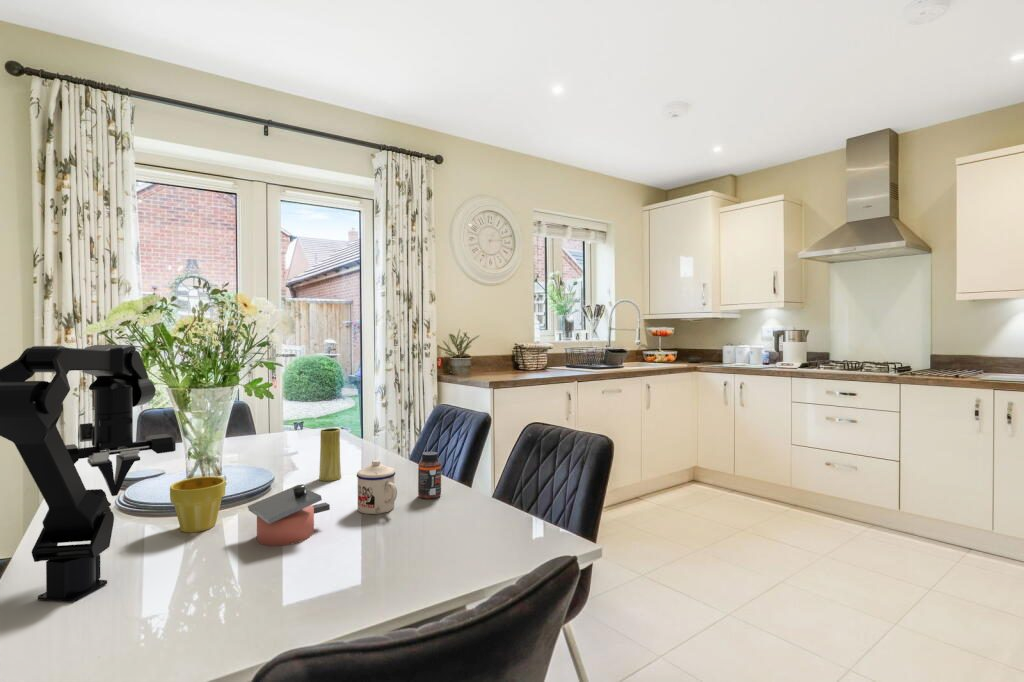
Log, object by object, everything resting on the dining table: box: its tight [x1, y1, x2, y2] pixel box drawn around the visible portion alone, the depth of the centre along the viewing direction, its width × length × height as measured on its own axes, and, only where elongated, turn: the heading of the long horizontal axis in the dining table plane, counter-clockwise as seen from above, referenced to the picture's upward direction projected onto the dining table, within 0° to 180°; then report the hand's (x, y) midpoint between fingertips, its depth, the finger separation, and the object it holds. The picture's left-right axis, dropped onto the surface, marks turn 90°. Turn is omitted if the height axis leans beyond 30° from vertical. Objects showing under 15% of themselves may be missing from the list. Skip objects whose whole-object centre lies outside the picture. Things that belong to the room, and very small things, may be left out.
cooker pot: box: [256, 502, 331, 547], centre depth 112 cm, size 15×11×5 cm
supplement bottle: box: [417, 451, 442, 500], centre depth 138 cm, size 6×6×11 cm
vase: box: [318, 427, 342, 482], centre depth 153 cm, size 6×6×14 cm
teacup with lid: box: [356, 459, 398, 515], centre depth 127 cm, size 12×9×12 cm
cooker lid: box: [247, 483, 323, 524], centre depth 110 cm, size 11×11×3 cm
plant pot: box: [169, 475, 226, 533], centre depth 115 cm, size 10×10×10 cm
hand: (114, 495), depth 98 cm, fingers closed
